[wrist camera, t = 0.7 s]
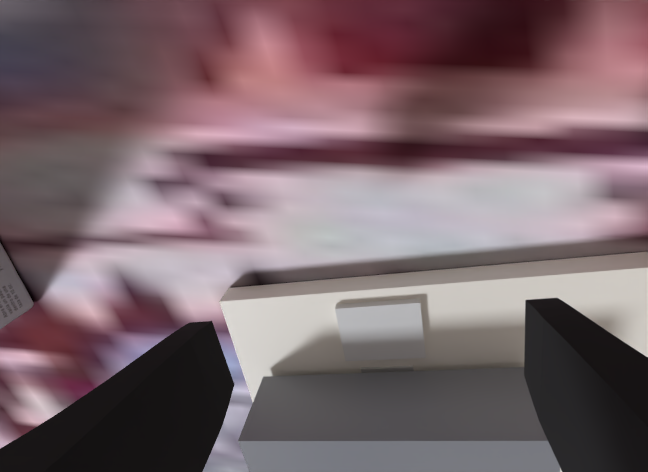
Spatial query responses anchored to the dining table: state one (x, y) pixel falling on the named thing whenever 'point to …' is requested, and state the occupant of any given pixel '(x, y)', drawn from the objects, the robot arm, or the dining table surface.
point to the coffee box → (11, 292)
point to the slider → (396, 423)
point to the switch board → (426, 316)
